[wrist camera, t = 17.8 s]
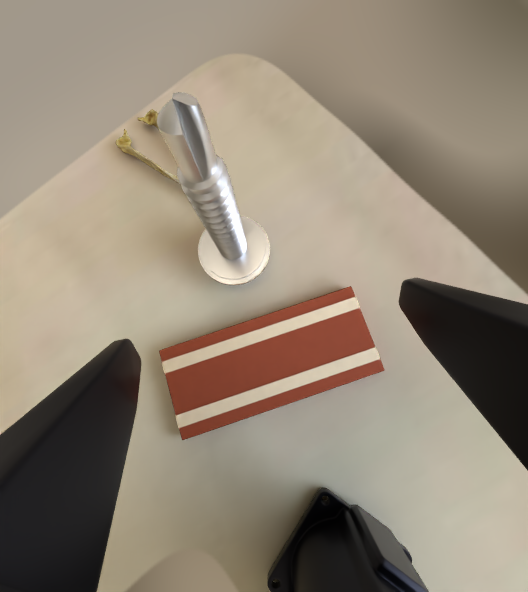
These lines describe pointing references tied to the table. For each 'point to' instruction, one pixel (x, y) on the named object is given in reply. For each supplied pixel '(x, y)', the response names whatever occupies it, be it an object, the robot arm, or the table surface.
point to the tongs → (126, 148)
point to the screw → (212, 196)
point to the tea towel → (269, 362)
